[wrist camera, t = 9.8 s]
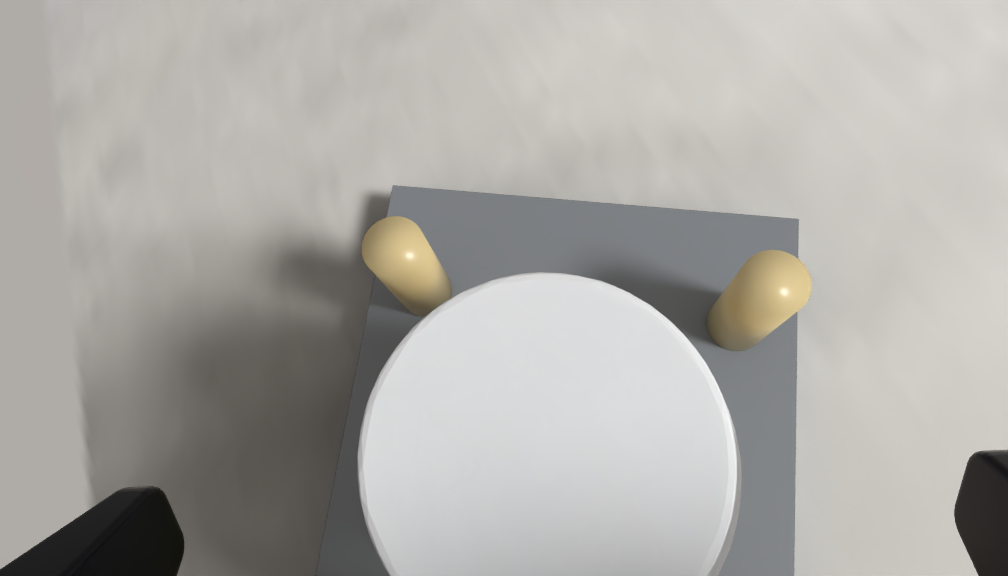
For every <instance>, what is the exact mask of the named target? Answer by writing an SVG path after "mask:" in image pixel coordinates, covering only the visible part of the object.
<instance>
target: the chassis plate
mask: <svg viewBox="0 0 1008 576" xmlns="http://www.w3.org/2000/svg"><path fill="white" fill-rule="evenodd" d="M798 226H799V219H792V218H780V217H768V216H756V215H744V214H732V213H720V212H707V211H695V210H683V209H671V208H659V207H647V206H635V205H623V204H611V203H599V202H587V201H575V200H563V199H551V198H539V197H527V196H515V195H503V194H491V193H479V192H467V191H454V190H442V189H430V188H418V187H406V186H394V185H393V187H392V192H391V197H390V202H389V207H388V212H387V217H386V218H384V219H381V220H379V221H378V222H376V223H375V224H373V225H372V226H371V227H370V228H369V230H368V231H367V232H366V234H365V236H364V238H363V242H362V256H363V259H364V262H365V263H366V265H367V266H368V267H369V268H370V270H371V271H372V272H373V273H374V274H375V278H374V283H373V288H372V293H371V298H370V303H369V308H368V313H367V318H366V323H365V328H364V333H363V338H362V343H361V348H360V353H359V359H358V364H357V369H356V374H355V379H354V384H353V389H352V394H351V399H350V404H349V409H348V414H347V419H346V424H345V429H344V434H343V439H342V444H341V449H340V454H339V459H338V464H337V469H336V474H335V480H334V485H333V490H332V495H331V500H330V505H329V510H328V515H327V520H326V525H325V530H324V535H323V540H322V545H321V550H320V555H319V560H318V565H317V570H316V575H315V576H390V575H389V573H388V572H387V570H386V569H385V567H384V565H383V563H382V562H381V560H380V558H379V556H378V554H377V552H376V549H375V547H374V545H373V542H372V540H371V538H370V535H369V532H368V529H367V526H366V522H365V518H364V514H363V509H362V505H361V500H360V494H359V485H358V458H357V454H358V446H359V438H360V431H361V426H362V422H363V417H364V413H365V408H366V405H367V402H368V399H369V396H370V394H371V392H372V390H373V388H374V385H375V383H376V381H377V378H378V376H379V374H380V372H381V370H382V369H383V367H384V365H385V364H386V362H387V360H388V359H389V357H390V356H391V354H392V353H393V351H394V350H395V348H396V347H397V346H398V345H399V343H400V342H401V341H402V340H403V339H404V338H405V336H406V335H407V334H408V333H409V332H410V330H411V329H412V328H413V327H414V326H415V325H416V324H417V323H419V322H420V321H421V320H422V319H423V318H424V317H425V316H427V315H428V314H429V313H431V312H432V311H433V310H435V309H436V308H437V307H439V306H440V305H441V304H443V303H444V302H445V301H447V300H449V299H451V298H453V297H454V296H456V295H458V294H460V293H462V292H463V291H465V290H468V289H470V288H472V287H475V286H478V285H480V284H483V283H486V282H489V281H491V280H494V279H498V278H502V277H507V276H512V275H517V274H524V273H537V272H545V273H563V274H570V275H577V276H581V277H586V278H590V279H595V280H599V281H603V282H605V283H608V284H610V285H613V286H615V287H617V288H620V289H622V290H624V291H626V292H629V293H630V294H632V295H634V296H636V297H637V298H639V299H641V300H642V301H644V302H646V303H648V304H649V305H651V306H652V307H653V308H655V309H656V310H657V311H658V312H660V313H661V314H662V315H664V316H665V317H666V318H667V319H668V320H669V321H671V322H672V323H673V324H674V325H675V326H676V327H677V328H678V329H679V330H680V331H681V332H682V333H683V334H684V335H685V337H686V338H687V339H688V340H689V341H690V342H691V344H692V345H693V346H694V347H695V348H696V350H697V351H698V353H699V354H700V355H701V357H702V358H703V360H704V361H705V362H706V364H707V366H708V368H709V369H710V371H711V373H712V375H713V376H714V378H715V380H716V382H717V385H718V387H719V389H720V391H721V393H722V396H723V398H724V401H725V403H726V405H727V408H728V410H729V412H730V416H731V419H732V422H733V425H734V428H735V432H736V436H737V442H738V447H739V453H740V460H741V476H742V483H741V499H740V508H739V515H738V520H737V524H736V528H735V533H734V537H733V541H732V544H731V546H730V549H729V552H728V555H727V557H726V559H725V562H724V564H723V566H722V569H721V571H720V572H719V574H718V576H794V539H795V461H796V383H797V311H798V310H800V309H801V308H802V307H803V306H804V305H805V304H806V302H807V301H808V299H809V297H810V294H811V289H812V283H811V277H810V274H809V272H808V270H807V268H806V267H805V265H804V264H803V263H802V262H801V261H800V260H799V259H798Z"/></svg>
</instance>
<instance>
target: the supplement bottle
mask: <svg viewBox="0 0 1008 576" xmlns="http://www.w3.org/2000/svg"><path fill="white" fill-rule="evenodd" d="M357 458H358V485H359V494H360V500H361V505H362V509H363V514H364V518H365V522H366V526H367V529H368V532H369V535H370V538H371V540H372V542H373V545H374V547H375V549H376V552H377V554H378V556H379V558H380V560H381V562H382V563H383V565H384V567H385V569H386V570H387V572H388V573H389V575H390V576H718V574H719V572H720V571H721V569H722V566H723V564H724V562H725V559H726V557H727V555H728V552H729V549H730V546H731V544H732V541H733V537H734V533H735V528H736V524H737V520H738V515H739V508H740V499H741V483H742V476H741V460H740V453H739V447H738V442H737V436H736V432H735V428H734V425H733V422H732V419H731V416H730V412H729V410H728V408H727V405H726V403H725V401H724V398H723V396H722V393H721V391H720V389H719V387H718V385H717V382H716V380H715V378H714V376H713V375H712V373H711V371H710V369H709V368H708V366H707V364H706V362H705V361H704V360H703V358H702V357H701V355H700V354H699V353H698V351H697V350H696V348H695V347H694V346H693V345H692V344H691V342H690V341H689V340H688V339H687V338H686V337H685V335H684V334H683V333H682V332H681V331H680V330H679V329H678V328H677V327H676V326H675V325H674V324H673V323H672V322H671V321H669V320H668V319H667V318H666V317H665V316H664V315H662V314H661V313H660V312H658V311H657V310H656V309H655V308H653V307H652V306H651V305H649V304H648V303H646V302H644V301H642V300H641V299H639V298H637V297H636V296H634V295H632V294H630V293H629V292H626V291H624V290H622V289H620V288H617V287H615V286H613V285H610V284H608V283H605V282H603V281H599V280H595V279H590V278H586V277H581V276H577V275H570V274H563V273H545V272H537V273H524V274H517V275H512V276H507V277H502V278H498V279H494V280H491V281H489V282H486V283H483V284H480V285H478V286H475V287H472V288H470V289H468V290H465V291H463V292H462V293H460V294H458V295H456V296H454V297H453V298H451V299H449V300H447V301H445V302H444V303H443V304H441V305H440V306H439V307H437V308H436V309H435V310H433V311H432V312H431V313H429V314H428V315H427V316H425V317H424V318H423V319H422V320H421V321H420V322H419V323H417V324H416V325H415V326H414V327H413V328H412V329H411V330H410V332H409V333H408V334H407V335H406V336H405V338H404V339H403V340H402V341H401V342H400V343H399V345H398V346H397V347H396V348H395V350H394V351H393V353H392V354H391V356H390V357H389V359H388V360H387V362H386V364H385V365H384V367H383V369H382V370H381V372H380V374H379V376H378V378H377V381H376V383H375V385H374V388H373V390H372V392H371V394H370V396H369V399H368V402H367V405H366V408H365V413H364V417H363V422H362V426H361V431H360V438H359V446H358V454H357Z"/></svg>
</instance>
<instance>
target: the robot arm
mask: <svg viewBox="0 0 1008 576" xmlns="http://www.w3.org/2000/svg"><path fill="white" fill-rule="evenodd" d="M954 516H955V522H956V526H957V529H958V532H959V534H960V536H961V539H962V541H963V543H964V545H965V547H966V549H967V552H968V554H969V556H970V558H971V560H972V562H973V565H974V567H975V569H976V571H977V573H978V575H979V576H1008V450H991V451H979V452H976V453H974V454H973V455H972V456H971V457H970V458H969V460H968V463H967V466H966V470H965V473H964V476H963V480H962V483H961V487H960V490H959V494H958V497H957V500H956V504H955V510H954ZM183 553H184V537H183V533H182V531H181V528H180V526H179V524H178V522H177V519H176V517H175V515H174V513H173V511H172V508H171V506H170V504H169V502H168V499H167V497H166V495H165V493H164V492H163V491H162V490H161V489H160V488H158V487H154V486H146V487H128V488H123V489H120V490H118V491H117V492H115V493H114V494H112V495H111V496H109V497H108V498H106V499H105V500H103V501H102V502H100V503H99V504H97V505H96V506H94V507H93V508H91V509H90V510H88V511H87V512H85V513H84V514H82V515H81V516H80V517H78V518H76V519H75V520H73V521H72V522H70V523H69V524H67V525H66V526H64V527H63V528H61V529H60V530H58V531H57V532H56V533H54V534H52V535H51V536H50V537H48V538H46V539H45V540H43V541H42V542H40V543H39V544H37V545H36V546H34V547H33V548H31V549H30V550H29V551H27V552H26V553H24V554H23V555H21V556H19V557H18V558H17V559H15V560H14V561H12V562H11V563H9V564H8V565H6V566H5V567H3V568H2V569H0V576H177V573H178V570H179V567H180V564H181V561H182V557H183Z"/></svg>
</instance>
